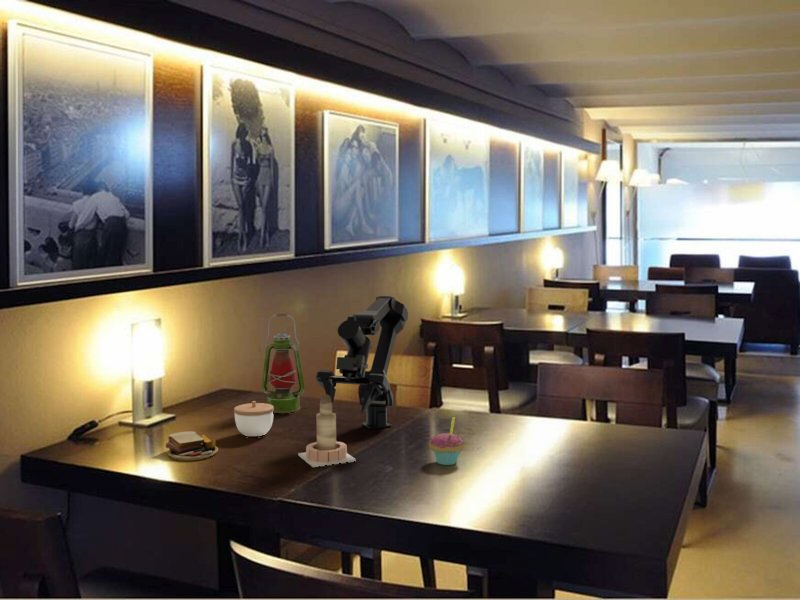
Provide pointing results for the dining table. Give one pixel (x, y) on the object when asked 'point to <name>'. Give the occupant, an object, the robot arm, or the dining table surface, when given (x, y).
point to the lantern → (282, 373)
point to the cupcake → (446, 446)
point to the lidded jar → (254, 418)
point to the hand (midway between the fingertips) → (345, 411)
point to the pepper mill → (326, 425)
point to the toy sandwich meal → (190, 446)
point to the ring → (326, 455)
